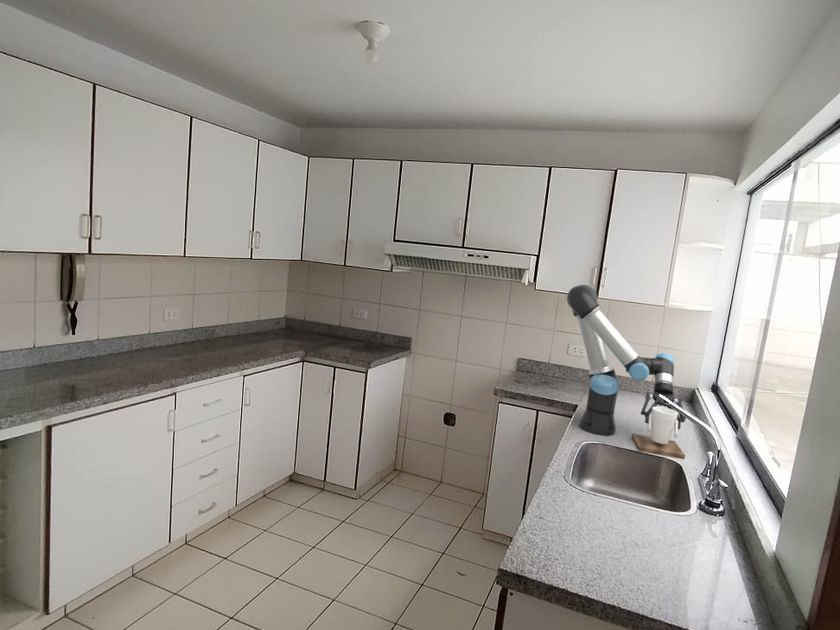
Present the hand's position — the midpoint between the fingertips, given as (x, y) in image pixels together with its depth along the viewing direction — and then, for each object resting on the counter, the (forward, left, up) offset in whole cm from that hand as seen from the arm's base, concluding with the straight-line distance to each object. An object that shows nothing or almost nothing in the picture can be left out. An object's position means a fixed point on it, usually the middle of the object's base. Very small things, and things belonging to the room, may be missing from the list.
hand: (662, 432), depth 208 cm
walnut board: (0, +3, -7) cm, 8 cm away
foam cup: (0, +3, -5) cm, 6 cm away
